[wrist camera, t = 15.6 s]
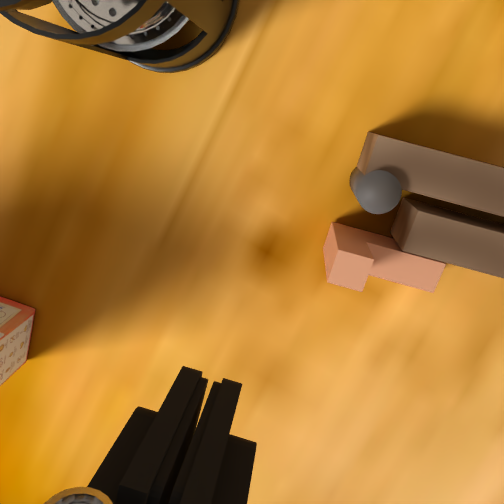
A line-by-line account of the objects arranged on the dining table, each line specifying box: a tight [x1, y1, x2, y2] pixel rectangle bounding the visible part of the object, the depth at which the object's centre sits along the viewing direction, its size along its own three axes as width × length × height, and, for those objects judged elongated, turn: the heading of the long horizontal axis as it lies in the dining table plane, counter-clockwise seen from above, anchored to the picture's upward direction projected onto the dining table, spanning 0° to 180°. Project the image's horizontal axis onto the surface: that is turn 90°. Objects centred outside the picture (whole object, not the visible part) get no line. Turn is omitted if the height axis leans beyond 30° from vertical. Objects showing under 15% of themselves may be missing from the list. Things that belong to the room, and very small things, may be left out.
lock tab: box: [323, 222, 446, 293], centre depth 26 cm, size 2×7×6 cm, turn 76°
